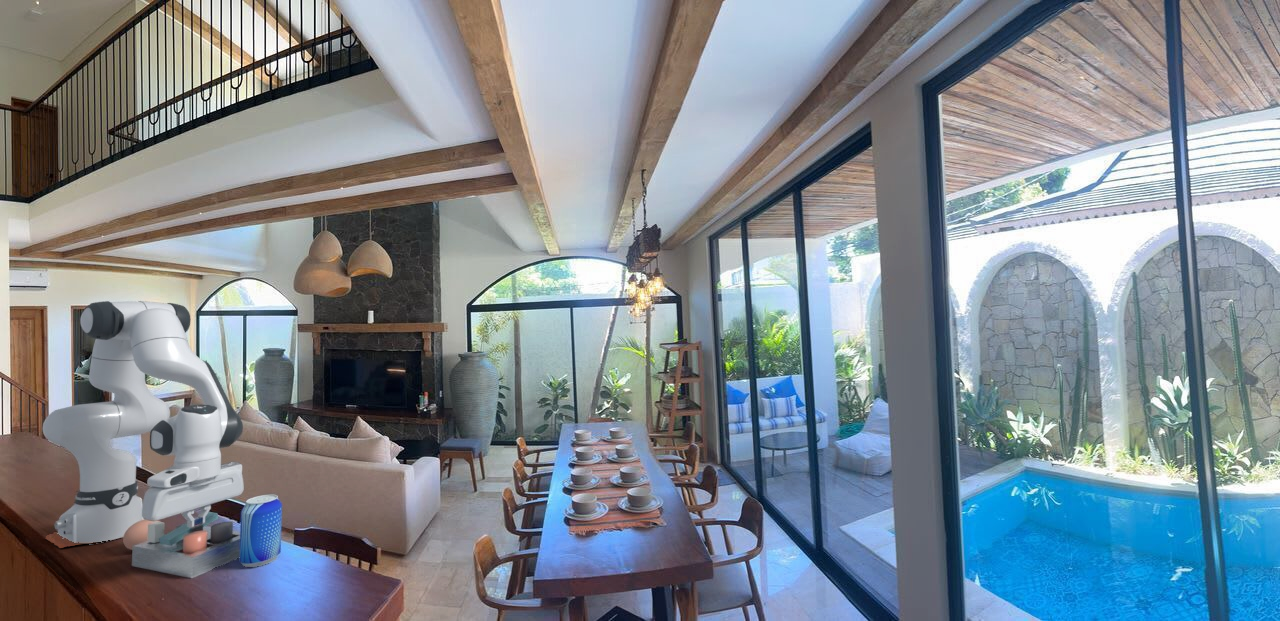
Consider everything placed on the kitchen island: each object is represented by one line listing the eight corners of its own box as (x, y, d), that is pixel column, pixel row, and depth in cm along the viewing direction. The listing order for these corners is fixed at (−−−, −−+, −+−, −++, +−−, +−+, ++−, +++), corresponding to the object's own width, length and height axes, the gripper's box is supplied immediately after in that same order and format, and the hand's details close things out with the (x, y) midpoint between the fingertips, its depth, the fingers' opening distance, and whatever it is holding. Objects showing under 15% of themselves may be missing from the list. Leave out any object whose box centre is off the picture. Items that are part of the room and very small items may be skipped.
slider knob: (147, 541, 124) (147, 524, 124) (156, 538, 126) (157, 521, 126) (154, 543, 123) (155, 525, 124) (164, 539, 125) (164, 522, 125)
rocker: (160, 543, 122) (158, 538, 122) (208, 516, 132) (206, 511, 132) (171, 545, 121) (169, 540, 121) (218, 518, 131) (217, 513, 131)
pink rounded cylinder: (178, 561, 119) (178, 536, 119) (198, 553, 123) (199, 529, 124) (190, 563, 118) (191, 538, 118) (210, 555, 122) (211, 531, 122)
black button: (205, 550, 125) (206, 527, 125) (224, 543, 129) (225, 520, 129) (217, 552, 124) (218, 529, 124) (236, 545, 128) (237, 522, 128)
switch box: (131, 565, 122) (133, 532, 122) (196, 542, 135) (197, 512, 136) (191, 578, 116) (192, 543, 116) (252, 552, 129) (253, 520, 130)
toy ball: (171, 544, 134) (172, 515, 135) (137, 557, 127) (138, 526, 127) (148, 542, 136) (149, 513, 136) (114, 554, 128) (115, 524, 128)
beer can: (257, 570, 119) (259, 505, 120) (230, 567, 121) (232, 503, 122) (288, 555, 128) (290, 494, 128) (262, 552, 129) (264, 492, 130)
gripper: (233, 458, 132) (232, 509, 132) (138, 481, 113) (136, 540, 112) (250, 460, 131) (249, 511, 130) (156, 483, 111) (154, 544, 110)
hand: (196, 525), depth 121 cm, fingers closed
